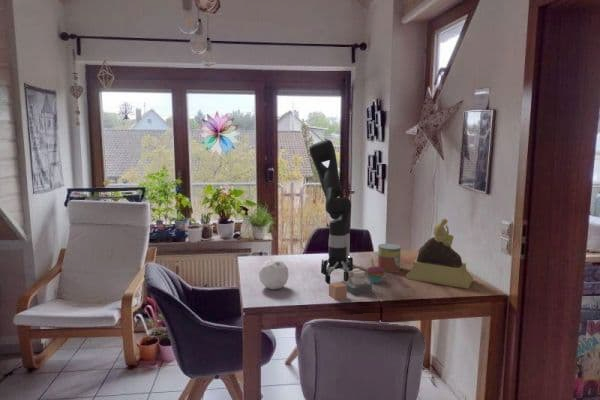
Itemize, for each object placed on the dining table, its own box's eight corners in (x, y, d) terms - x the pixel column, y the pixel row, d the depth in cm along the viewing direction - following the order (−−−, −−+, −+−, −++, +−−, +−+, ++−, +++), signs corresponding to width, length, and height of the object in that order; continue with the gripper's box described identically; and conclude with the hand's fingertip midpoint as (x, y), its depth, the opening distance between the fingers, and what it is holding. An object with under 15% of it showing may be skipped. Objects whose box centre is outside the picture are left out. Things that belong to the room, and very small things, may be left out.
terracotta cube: (328, 295, 188) (328, 283, 187) (339, 293, 190) (340, 281, 189) (335, 300, 183) (335, 287, 182) (346, 298, 185) (346, 285, 184)
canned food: (394, 273, 218) (394, 250, 216) (373, 269, 224) (374, 246, 223) (403, 268, 226) (404, 245, 225) (383, 264, 233) (384, 242, 231)
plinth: (340, 287, 198) (340, 281, 197) (359, 284, 202) (359, 278, 202) (352, 294, 189) (352, 288, 188) (371, 291, 193) (372, 284, 193)
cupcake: (370, 285, 201) (371, 259, 199) (363, 279, 209) (363, 255, 207) (387, 283, 203) (388, 258, 201) (379, 277, 211) (380, 253, 209)
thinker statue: (472, 280, 207) (476, 218, 203) (467, 288, 196) (471, 223, 192) (413, 271, 221) (416, 213, 217) (406, 278, 210) (408, 217, 206)
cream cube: (347, 281, 196) (347, 270, 195) (357, 280, 199) (358, 268, 198) (354, 285, 191) (354, 273, 190) (364, 283, 194) (365, 271, 193)
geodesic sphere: (301, 277, 194) (288, 250, 198) (277, 284, 184) (264, 255, 189) (283, 290, 203) (271, 263, 207) (260, 297, 194) (248, 269, 198)
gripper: (327, 248, 177) (326, 287, 179) (356, 245, 183) (356, 282, 185) (318, 244, 183) (317, 282, 186) (347, 241, 190) (346, 277, 192)
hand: (337, 282), depth 185 cm, fingers open, 8 cm apart
